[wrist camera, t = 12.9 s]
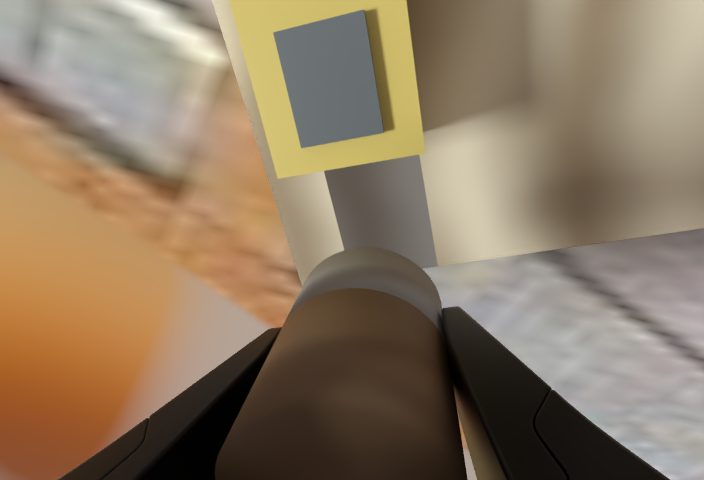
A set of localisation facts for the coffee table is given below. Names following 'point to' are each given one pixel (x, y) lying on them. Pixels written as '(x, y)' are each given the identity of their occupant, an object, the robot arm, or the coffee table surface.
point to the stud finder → (331, 81)
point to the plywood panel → (518, 135)
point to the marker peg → (353, 382)
